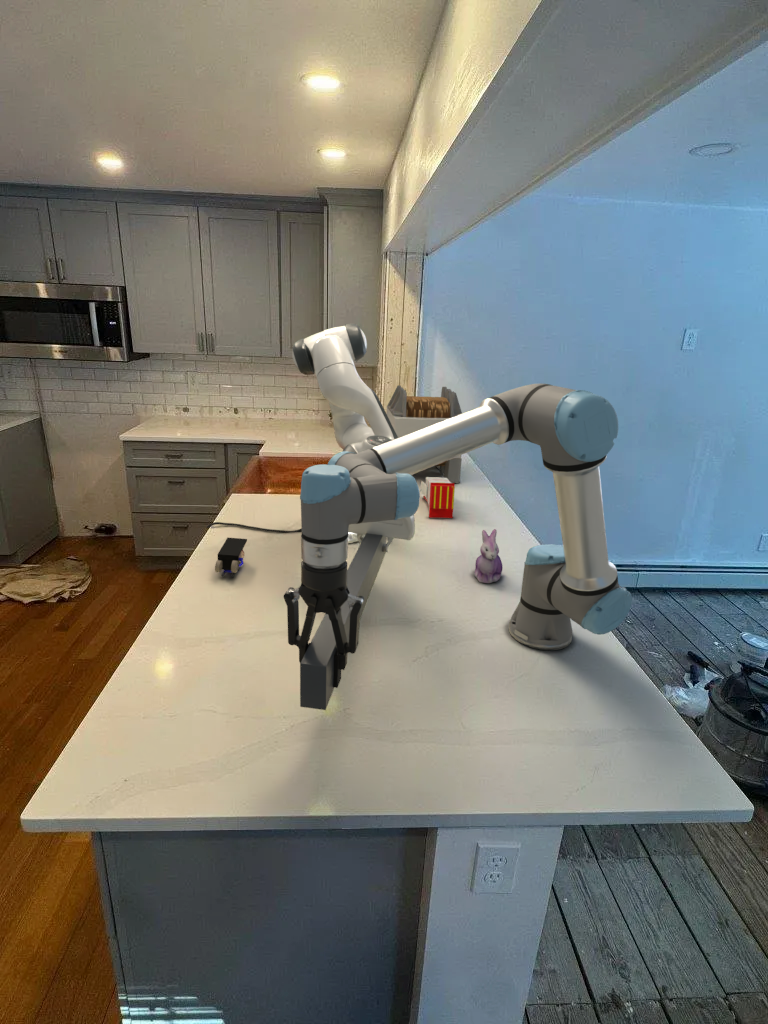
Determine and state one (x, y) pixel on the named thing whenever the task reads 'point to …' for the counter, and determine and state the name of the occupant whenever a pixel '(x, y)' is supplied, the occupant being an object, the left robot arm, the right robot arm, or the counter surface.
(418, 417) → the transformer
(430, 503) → the red striped box
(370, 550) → the post
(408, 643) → the counter surface
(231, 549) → the black wheeled block
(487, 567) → the figurine
